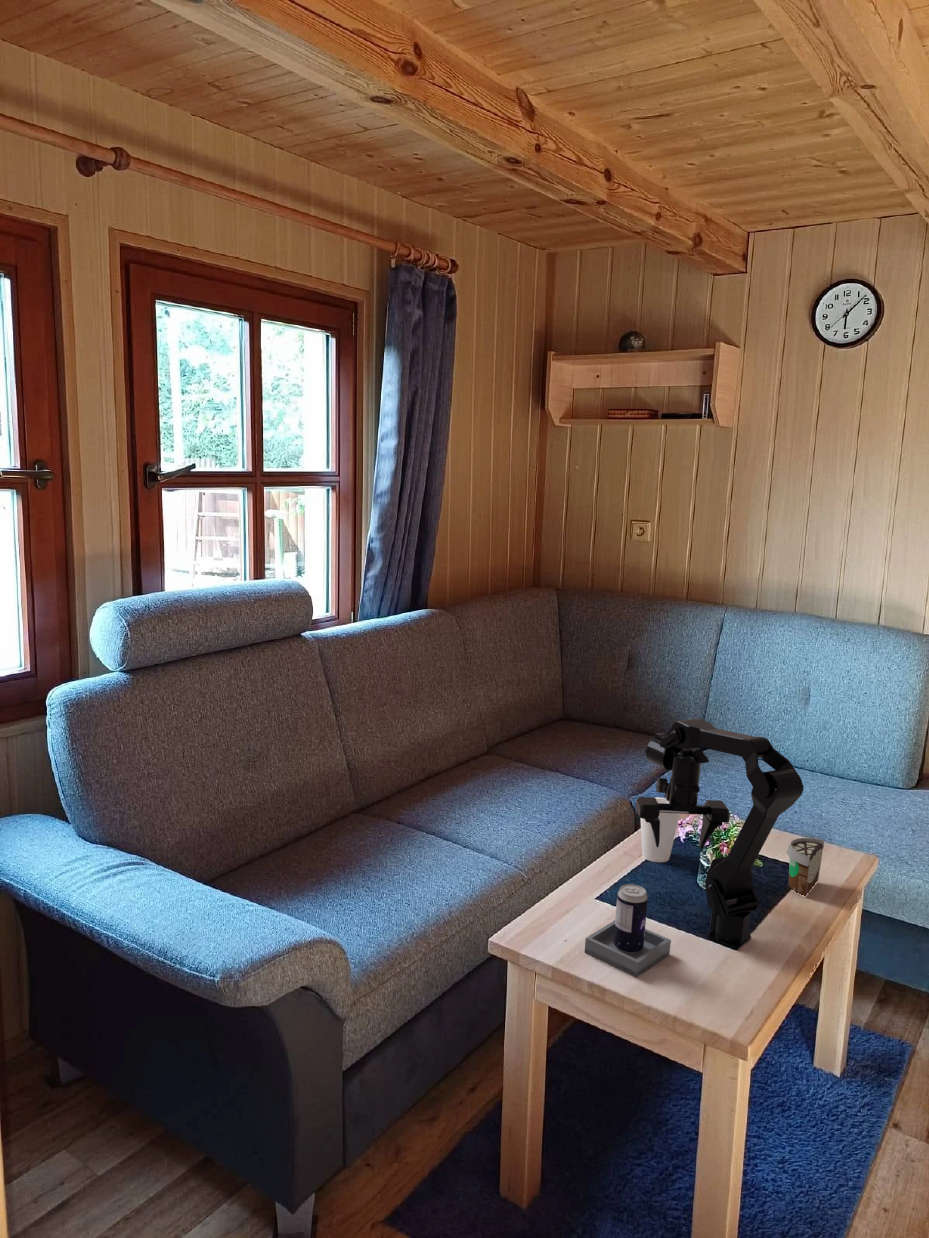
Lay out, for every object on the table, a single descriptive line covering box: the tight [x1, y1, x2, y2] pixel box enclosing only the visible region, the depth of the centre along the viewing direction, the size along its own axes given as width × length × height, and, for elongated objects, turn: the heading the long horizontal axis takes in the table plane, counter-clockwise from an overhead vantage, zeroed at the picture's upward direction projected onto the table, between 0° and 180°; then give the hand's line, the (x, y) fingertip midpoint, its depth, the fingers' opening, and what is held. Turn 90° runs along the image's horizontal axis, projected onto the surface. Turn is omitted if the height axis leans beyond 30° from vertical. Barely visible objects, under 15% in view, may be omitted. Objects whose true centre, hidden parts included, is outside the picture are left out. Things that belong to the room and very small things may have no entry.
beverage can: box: [613, 883, 649, 954], centre depth 175 cm, size 6×6×12 cm
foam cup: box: [640, 796, 681, 863], centre depth 218 cm, size 10×9×13 cm
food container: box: [786, 837, 825, 896], centre depth 207 cm, size 12×6×10 cm, turn 144°
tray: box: [584, 919, 672, 979], centre depth 176 cm, size 12×12×3 cm
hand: (678, 847), depth 196 cm, fingers open, 9 cm apart
